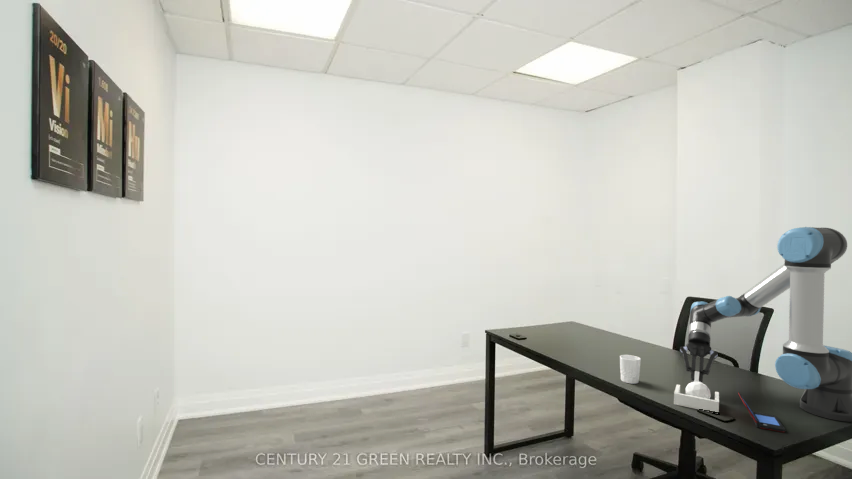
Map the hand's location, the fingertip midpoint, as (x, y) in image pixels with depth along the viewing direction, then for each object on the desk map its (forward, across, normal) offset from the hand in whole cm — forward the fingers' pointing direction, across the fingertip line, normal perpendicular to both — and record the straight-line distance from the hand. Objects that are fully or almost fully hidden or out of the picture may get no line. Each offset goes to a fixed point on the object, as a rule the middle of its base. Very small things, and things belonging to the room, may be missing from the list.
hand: (696, 388), depth 158 cm
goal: (+7, 0, +1) cm, 7 cm away
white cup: (0, +24, -6) cm, 25 cm away
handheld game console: (+10, -18, +5) cm, 22 cm away
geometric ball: (+6, -1, +1) cm, 6 cm away
